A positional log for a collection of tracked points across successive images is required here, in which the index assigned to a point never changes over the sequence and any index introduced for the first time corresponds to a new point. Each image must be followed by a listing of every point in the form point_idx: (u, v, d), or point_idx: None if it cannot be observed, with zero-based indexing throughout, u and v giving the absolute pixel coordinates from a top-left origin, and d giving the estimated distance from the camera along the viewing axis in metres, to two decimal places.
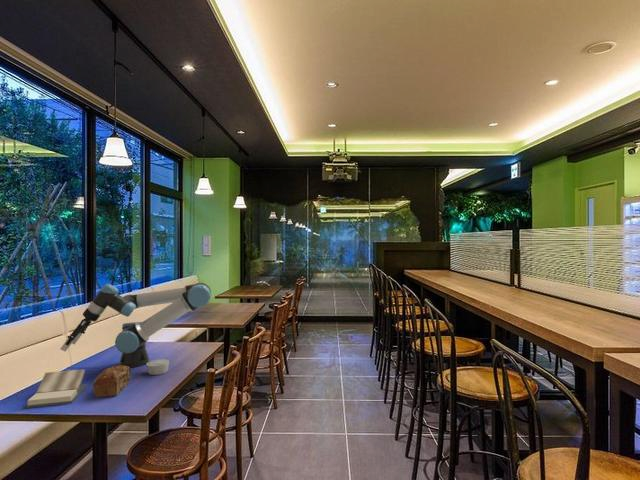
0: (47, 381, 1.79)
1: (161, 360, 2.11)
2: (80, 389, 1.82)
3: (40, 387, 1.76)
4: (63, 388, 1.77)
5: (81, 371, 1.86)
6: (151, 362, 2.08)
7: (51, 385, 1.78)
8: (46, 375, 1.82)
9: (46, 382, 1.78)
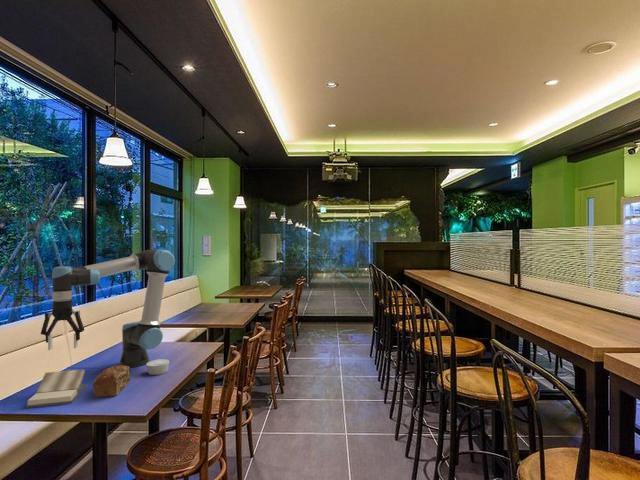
0: (47, 381, 1.79)
1: (161, 360, 2.11)
2: (80, 389, 1.82)
3: (40, 387, 1.76)
4: (63, 388, 1.77)
5: (81, 371, 1.86)
6: (151, 362, 2.08)
7: (51, 385, 1.78)
8: (46, 375, 1.82)
9: (46, 382, 1.78)
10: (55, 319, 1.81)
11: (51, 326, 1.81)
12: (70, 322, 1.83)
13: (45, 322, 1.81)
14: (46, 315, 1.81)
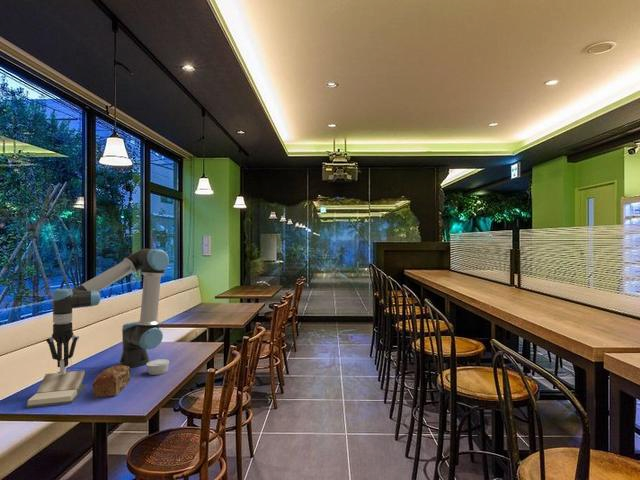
0: (47, 381, 1.79)
1: (161, 360, 2.11)
2: (80, 389, 1.82)
3: (40, 387, 1.76)
4: (63, 388, 1.77)
5: (81, 372, 1.86)
6: (151, 362, 2.08)
7: (51, 385, 1.78)
8: (46, 376, 1.82)
9: (46, 383, 1.78)
10: (58, 342, 1.81)
11: (58, 350, 1.82)
12: (65, 346, 1.82)
13: (51, 347, 1.81)
14: (48, 341, 1.81)
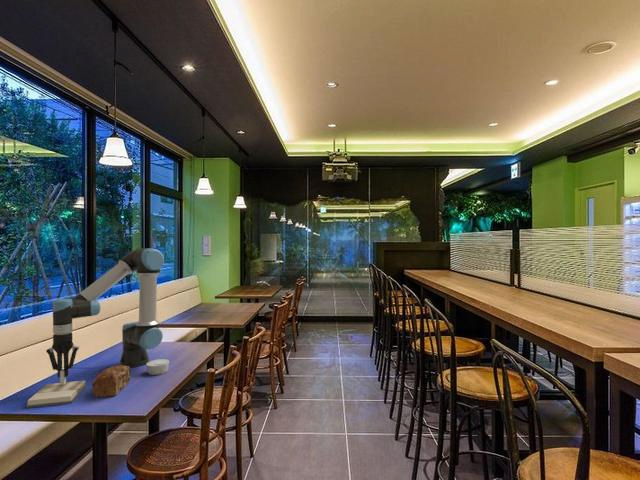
0: (48, 387, 1.80)
1: (161, 360, 2.11)
2: None
3: (40, 390, 1.76)
4: (63, 389, 1.77)
5: (82, 381, 1.87)
6: (151, 362, 2.08)
7: (51, 389, 1.78)
8: (47, 385, 1.83)
9: (47, 388, 1.79)
10: (58, 353, 1.81)
11: (58, 360, 1.82)
12: (65, 357, 1.83)
13: (51, 358, 1.81)
14: (48, 351, 1.81)
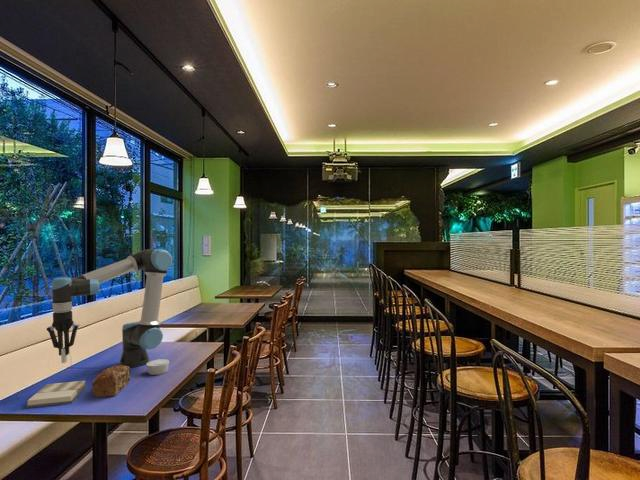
0: (48, 387, 1.80)
1: (161, 360, 2.11)
2: None
3: (40, 390, 1.76)
4: (63, 389, 1.77)
5: (82, 381, 1.87)
6: (151, 362, 2.08)
7: (51, 389, 1.78)
8: (47, 385, 1.83)
9: (47, 388, 1.79)
10: (58, 331, 1.81)
11: (59, 338, 1.82)
12: (65, 335, 1.83)
13: (52, 336, 1.81)
14: (48, 329, 1.81)
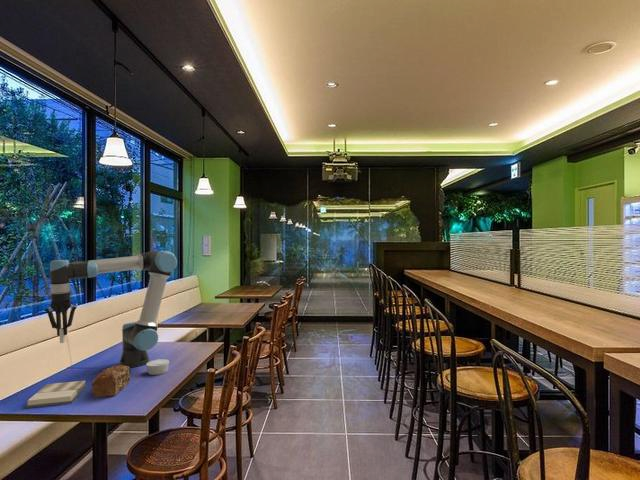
0: (48, 387, 1.80)
1: (161, 360, 2.11)
2: None
3: (40, 390, 1.76)
4: (63, 389, 1.77)
5: (82, 381, 1.87)
6: (151, 362, 2.08)
7: (51, 389, 1.78)
8: (47, 385, 1.83)
9: (47, 388, 1.79)
10: (57, 311, 1.86)
11: (57, 319, 1.87)
12: (64, 315, 1.87)
13: (50, 316, 1.86)
14: (47, 310, 1.85)
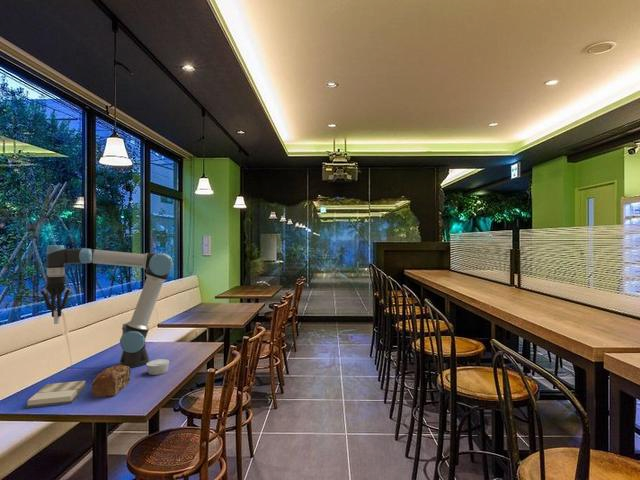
0: (48, 387, 1.80)
1: (161, 360, 2.11)
2: None
3: (40, 390, 1.76)
4: (63, 389, 1.77)
5: (82, 381, 1.87)
6: (151, 362, 2.08)
7: (51, 389, 1.78)
8: (47, 385, 1.83)
9: (47, 388, 1.79)
10: (52, 294, 1.96)
11: (52, 301, 1.97)
12: (58, 298, 1.97)
13: (45, 298, 1.96)
14: (42, 292, 1.95)
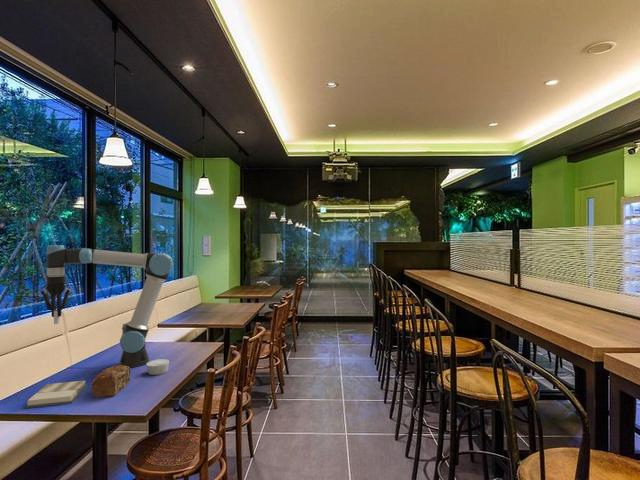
0: (48, 387, 1.80)
1: (161, 360, 2.11)
2: None
3: (40, 390, 1.76)
4: (63, 389, 1.77)
5: (82, 381, 1.87)
6: (151, 362, 2.08)
7: (51, 389, 1.78)
8: (47, 385, 1.83)
9: (47, 388, 1.79)
10: (52, 294, 1.96)
11: (52, 301, 1.97)
12: (58, 298, 1.97)
13: (45, 298, 1.96)
14: (42, 292, 1.95)
